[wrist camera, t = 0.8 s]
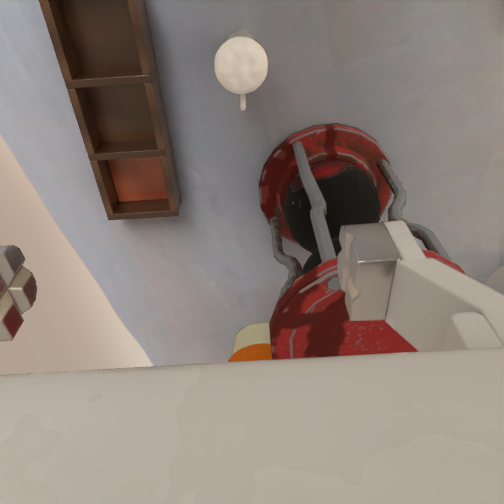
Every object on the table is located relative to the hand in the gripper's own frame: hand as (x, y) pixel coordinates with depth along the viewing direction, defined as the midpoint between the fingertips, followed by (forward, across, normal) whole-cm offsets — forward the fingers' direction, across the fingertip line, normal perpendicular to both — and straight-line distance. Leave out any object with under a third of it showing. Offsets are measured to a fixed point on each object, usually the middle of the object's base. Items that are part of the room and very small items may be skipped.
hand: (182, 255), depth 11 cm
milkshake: (+38, -1, +2) cm, 38 cm away
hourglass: (+38, -10, +18) cm, 43 cm away
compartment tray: (+37, +12, +8) cm, 40 cm away
